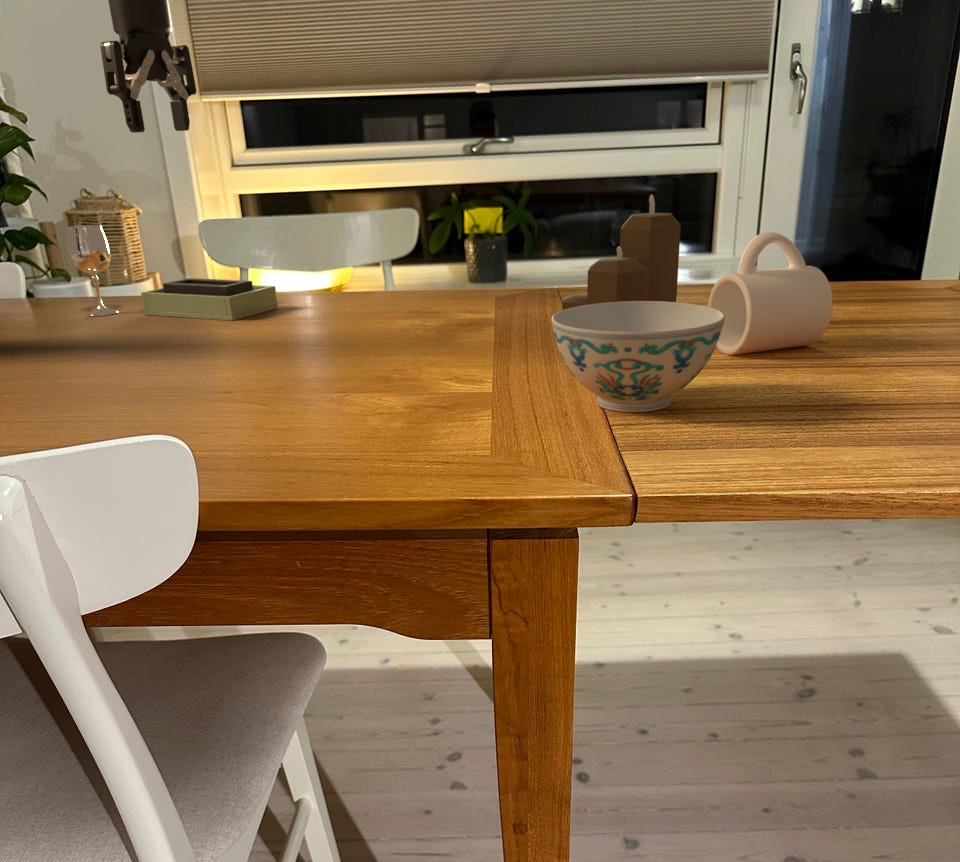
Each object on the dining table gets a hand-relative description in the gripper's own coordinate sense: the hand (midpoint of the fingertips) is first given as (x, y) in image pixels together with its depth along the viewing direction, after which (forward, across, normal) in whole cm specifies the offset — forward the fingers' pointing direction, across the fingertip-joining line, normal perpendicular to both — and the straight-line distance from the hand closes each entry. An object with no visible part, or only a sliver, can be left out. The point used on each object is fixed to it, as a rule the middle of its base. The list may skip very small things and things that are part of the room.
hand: (160, 131), depth 132 cm
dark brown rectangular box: (+23, +1, +5) cm, 24 cm away
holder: (+24, +1, +5) cm, 24 cm away
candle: (+24, -3, +68) cm, 72 cm away
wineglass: (+24, +7, -11) cm, 27 cm away
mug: (+24, +2, +86) cm, 90 cm away
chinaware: (+24, +28, +81) cm, 89 cm away
